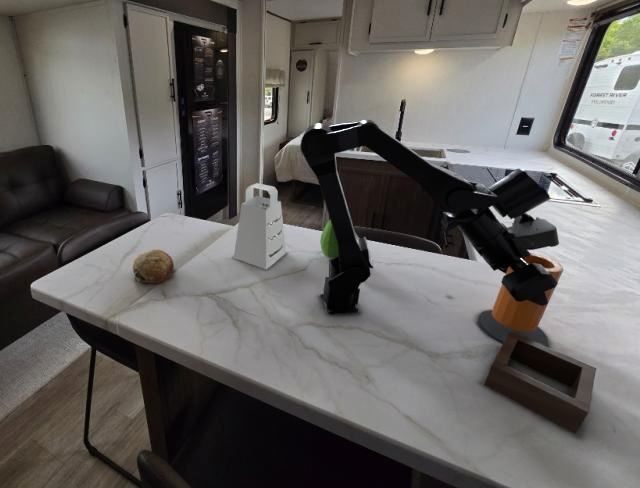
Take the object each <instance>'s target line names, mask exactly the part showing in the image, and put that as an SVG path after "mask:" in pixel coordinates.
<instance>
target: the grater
mask: <svg viewBox="0 0 640 488" xmlns="http://www.w3.org/2000/svg"><path fill="white" fill-rule="evenodd" d="M254 189H257V190H262V191H266V192H267V193H268V194H269V198H268V197H264V196H259V195H256V196H254V193H255V192H254ZM278 192H279V191H278V190H277V188H276V187H275V186H273V185H268V184H262V183H259V182H256V183H253V184H251V185H249V186H247V188H246V189H245V201H244V202H241V204H240V211H239V217H238V224H237V231H236V239H235V244H234V253H233V259H235V260H238V261H241V262H244V263H246V264H250V265H252V266H256V267H258V268H261V269H262V270H267V269H269V268H270V267H271V266H273V265H274V264H275V263H276V262H277V261H279V260H280V259H281V258H282V257H284V256H285V255H286V253H287V251H286V240H285V231H284V221H283V220H284V219H283V209H282V202H281V200H278V194H279V193H278ZM266 205H267V206H266ZM276 220H277V221H276ZM276 235H277V236H276ZM275 252H276V253H275ZM271 255H272V256H271Z"/></svg>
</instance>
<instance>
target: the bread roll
mask: <svg viewBox="0 0 640 488" xmlns="http://www.w3.org/2000/svg"><path fill="white" fill-rule="evenodd" d="M173 271H174V261H173V258H172V256H170V255H169V253H167V252H166V251H164V250H162V249H151V250H149V251H145V252H142V253H139V254H138V255H137V256H136V257H135V259H134V261H133V263H132V272H133V276H134V277H135V278H136V281H137V282H141V283H146V284H148V283H149V284H159V283H162V282H164V281H167V280H168V279H169V278H170V277H171V275H172V274H173Z"/></svg>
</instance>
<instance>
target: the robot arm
mask: <svg viewBox="0 0 640 488" xmlns="http://www.w3.org/2000/svg"><path fill="white" fill-rule="evenodd" d="M299 147H300V151H301V153H302V156H303V157H304V159H305V161H306V163H307V165H308V167H309V169H310V170H311V171H312V174H314V176H315V177H316V179H317V181H318V184H319V185H318V186H319V187H320V188H319V189H320V191H321V194H322V197H323V200H324V201H323V202H324V204H325V207H326V210H327V214H328V216H329V220H331V224H332V227H333V230H334V233H335V236H336V240H337V243H338V256H336V257H335V258H333V259H330V260H328V276H325V277H324V285H323V293H321V294H320V295H319V298H320V299H321V301H322V303H323V305H324V308H325V309H326V312H327V314H328V315H342V314H344V315H345V314H357V313H359V308H358V307H357V305H358V304H359V298H360V293H361V288H360V285H361V284H363V283H365V282H366V281H368V279H369V278H371V269H374V265H373V264H374V263H373V259H372V253H371V251H370V249H369V246H368V241H367V236H363V237H359V236H358V234H357V233H356V230H355V227H354V223H353V220H352V217H351V214H350V210H349V207H348V203H347V200H346V197H345V193H344V190H343V186H342V183H341V179H340V176H339V173H338V166H337V155H336V154H340V153H343V152H347V151H350V150H354V149H357V148H363V147H366V148H367V149H368V150H370V151H372V152H373V153H374V154H376V155H377V156H379V157H380V158H381V159H383V160H384V161H386V162H387V163H389V164H390V165H392V166H393V167H395V168H396V169H397V170H399V172H402V173H403V174H405V175H406V176H407V177H408V178H410V179H411V180H413V181H414V182H416V183H417V184H418V185H419V186H420V187H421V188H422V189H423V190H424V191H425V192H426V193H427V194H428V196H429V197H430V198H431V199H432V200H433V201H434V202H435V203H436V204H437V205H438V206H439V207H440V208H441V209H442V210H443V214H442V218H441V220H440V224H441V226H442V227H443V229H444V230H445V231H446V232H450V231H452V230H454V229H455V228H458V229H459V231H460V232H461V233H462V234H463V235H464V237H466V239H467V240H468V241H469V243H470V244H471V246H472V247H473V248H474V250H475V251H476V252H477V254H479V256H480V257H481V258H482V259H483V260H484V261H485V263H486V264H488V266H489V267H490V268H491V270H492V271H493V272H495V271H497V270H498V271H500V272H501V273H503V274H505V275H503V277H502V279H501V281H500V283H501V285H502V284H503V285H504V287H505V288H506V289H507V290H508V292H509V293H510V294H511V295H512V297H513V298H514V299H515V300H516V301H518V302H523V301H525V300H529V301H531V302H533V303H536V304H538V305H541V306H544V305H546V304H548V305H549V303H548V300H547V297H546V294H545V291H548V290H550V289H552V288H555V289H556V288H557V286H558V284H559V281H558V282H557V281H556V280H555V279H554V277H553V276H552V275H551V274H550V273H549V272H548V271H547V270H546V269H545V268H544V267H543V266H542V265H541V264H536V263H530V264H528V265H527V264H526V263H525V262H524V261H523V260H522V259H521V258H526V257H528V256H530V255H531V254H530V253H531V252H530V251H535V250H540V249H543V248H548V247H549V248H554V247H557V246H558V245H559V244H560V240H559V235H558V228H557V226H556V225H554V224H553V223H551V222H550V221H549V220H547V219H545V218H542V217H539V216H537V217H535V218H534V217H533V216H531V214H529V213H528V212H530V211H532V210H534V209H536V208H537V207H539V206H540V205H543V204H544V203H546V202H548V201H550V200H551V196H550V194H549V193H548V191H547V190H546V189H545V188H544V187H543V186H541V185H540V184H539V183H538V182H537V181H535V180H534V178H533V177H531V176H530V175H529V174H528V172H527V171H525V170H524V169H522V168H519V167H518V168H516V169H514V170H513V171H511V172H510V173H509V174H508V175H507V176H505V177H503V178H502V179H500V180H499V181H497V182H495V183H493V184H491V185H490V186H489V187H487V186H485V185H484V184H483V183H481V182H475V181H471V180H467V179H466V178H464V177H463V176H461V175H460V174H458V173H456V172H455V171H452V170H450V169H448V168H445V167H443V166H441V165H437V164H435V163H433V162H431V161H429V160H426V159H425V158H424V157H422V156H421V155H420V154H419V153H417V152H415V151H414V150H412V149H411V148H410V147H408V146H407V145H405V144H404V143H402V142H401V141H399V140H398V139H397V138H395V137H394V136H393V135H391V134H390V133H388V132H387V131H385V130H384V129H383V128H381V127H380V126H379V125H378V124H377V123H376V122H375V121H373V120H372V119H363V120H361V121H356V122H349V123H347V122H346V123H339V124H333V125H326V124H325V123H319V122H318V123H313V124H312V125H310V126H308V128H306V130H305V131H304V133H303V135H302V138H301V140H300V144H299ZM491 207H492V208H493V209H494V210H495V211H496V213H497V214H499V216H500V217H502V218H506V217H508V218H509V219H510V220H512V219H514V220H513V222H512V223H511V226H508V227H507V226H506V225H505V224H504V223H503V222H501V221H500V220H499V218H498V217H497V216H496V215H495V213H494V211H492V210H491ZM516 263H517V264H518V265H519V266H520V267H521V268H519V267H518V266H517V264H516ZM508 267H510V268H511V269H512V270H513V272H511V273H509V274H507V275H506V272H507V270H508Z"/></svg>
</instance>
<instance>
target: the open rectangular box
mask: <svg viewBox="0 0 640 488" xmlns="http://www.w3.org/2000/svg"><path fill="white" fill-rule="evenodd" d="M510 360H511V361H514V362H516V363H517V364H520V365H521V366H524V367H526V368H528V369H530V370H531V371H534V372H536V373H538V374H540V375H542V376H545V377H548V378H549V379H552V380H553V381H555V382H558V383H560V384H561V385H564V386H566V387H568V388H570V391H569V395H568V394H565V393H563V392H562V391H559V390H557V389H555V388H553V387H551V386H549V385H547V384H545V383H543V382H541V381H539V380H538V379H537V380H536V379H534V378H533V377H531V376H529V375H526V374H525V373H523V372H521V371H518V370H516V369H514V368H513V367H510V366H508V364H509V361H510ZM488 370H489V371H488V373H487V376H486V378H485V380H484V383H483V385H484V386H485V387H487V388H489V389H491V390H493V391H494V392H496V393H498V394H500V395H502V396H504V397H506V398H508V399H509V400H511V401H513V402H515V403H517V404H518V405H520V406H522V407H524V408H526V409H528V410H530V411H532V412H534V413H535V414H537V415H539V416H540V417H543V418H544V419H546V420H548V421H550V422H552V423H554V424H555V425H558V427H561V428H563V429H564V430H566V431H568V432H571V433H572V434H574V435H576V434H577V433H578V432H579V430H580V428H581V426H582V425H583V424H584V421H585V420H586V418H587V416H588V415H589V413H590V407H591V402H592V396H593V391H594V385H595V378H596V373H597V367H594V366H593V365H591V364H588V363H586V362H584V361H581V360H578V359H577V358H574V357H572V356H569V355H567V354H565V353H563V352H560V351H557V350H556V349H553V348H551V347H549V346H547V345H546V346H544V345H541V344H539V343H537V342H534V341H532V340H530V339H527V338H525V337H523V336H520V335H518V334H516V333H513V332H511V331H509V333H508V335H507V337H506V338H505V340H504V342H503V343H501V346H500V348H499V350H498V351H497V353H496V355H495V357H494V359H493V361H492V363H491V365H490V368H489V369H488Z"/></svg>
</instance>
